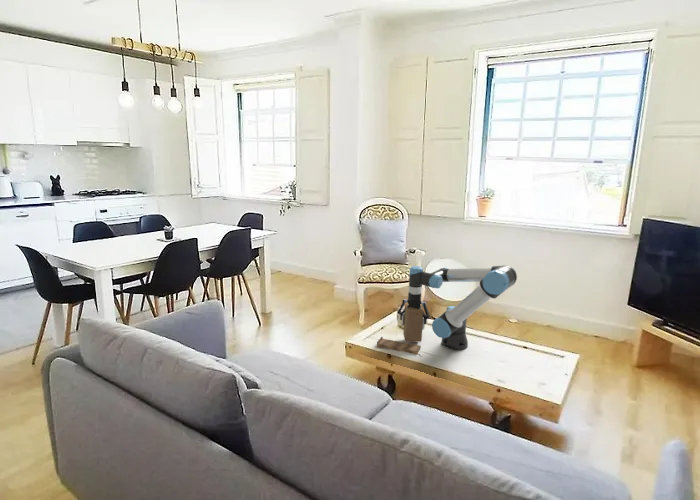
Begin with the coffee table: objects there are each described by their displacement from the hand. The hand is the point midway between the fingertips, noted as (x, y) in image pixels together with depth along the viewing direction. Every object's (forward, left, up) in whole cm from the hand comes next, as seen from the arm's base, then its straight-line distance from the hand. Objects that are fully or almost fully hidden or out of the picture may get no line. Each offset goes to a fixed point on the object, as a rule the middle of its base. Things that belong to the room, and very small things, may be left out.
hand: (412, 327), depth 263 cm
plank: (+5, +11, -10) cm, 15 cm away
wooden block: (0, 0, -8) cm, 8 cm away
